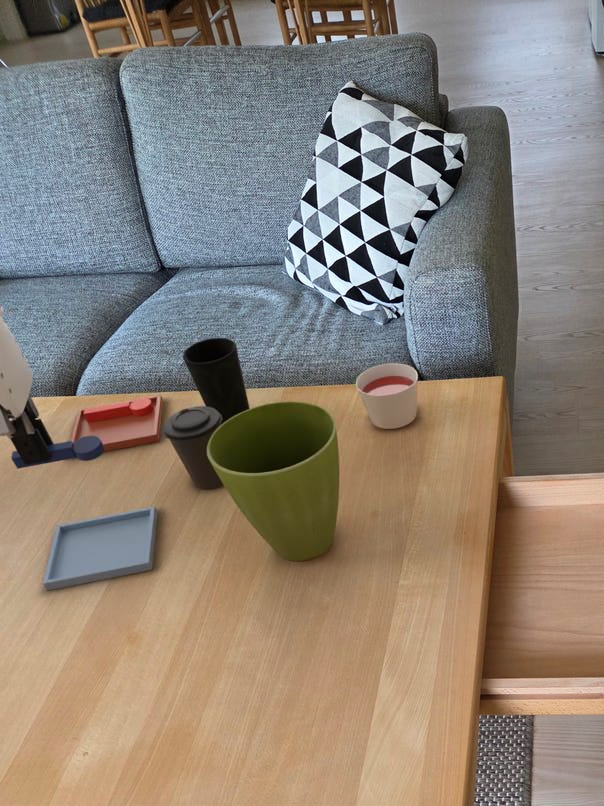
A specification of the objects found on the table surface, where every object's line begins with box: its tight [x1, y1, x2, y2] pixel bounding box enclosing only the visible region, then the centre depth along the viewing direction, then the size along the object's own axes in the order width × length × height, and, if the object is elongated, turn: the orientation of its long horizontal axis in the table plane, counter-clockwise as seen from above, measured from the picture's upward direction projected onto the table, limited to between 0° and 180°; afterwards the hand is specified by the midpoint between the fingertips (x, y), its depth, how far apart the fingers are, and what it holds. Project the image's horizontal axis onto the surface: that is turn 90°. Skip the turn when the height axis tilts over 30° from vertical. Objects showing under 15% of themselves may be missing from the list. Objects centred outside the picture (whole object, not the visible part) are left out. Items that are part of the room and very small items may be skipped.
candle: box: [355, 362, 419, 430], centre depth 128 cm, size 9×9×6 cm
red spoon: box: [84, 397, 153, 423], centre depth 137 cm, size 10×3×2 cm, turn 101°
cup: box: [182, 337, 251, 425], centre depth 129 cm, size 8×8×12 cm
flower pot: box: [207, 400, 340, 562], centre depth 105 cm, size 15×15×16 cm
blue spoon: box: [10, 435, 105, 470], centre depth 104 cm, size 10×3×2 cm, turn 102°
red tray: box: [69, 394, 164, 452], centre depth 135 cm, size 13×12×1 cm
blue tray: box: [42, 506, 159, 591], centre depth 113 cm, size 13×12×1 cm
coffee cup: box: [162, 405, 224, 490], centre depth 119 cm, size 8×8×10 cm
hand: (40, 455), depth 104 cm, fingers closed on blue spoon, 1 cm apart
